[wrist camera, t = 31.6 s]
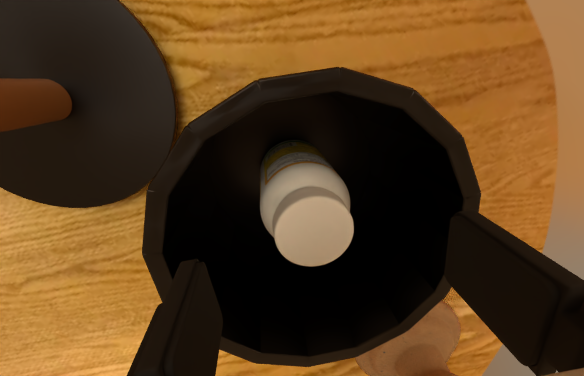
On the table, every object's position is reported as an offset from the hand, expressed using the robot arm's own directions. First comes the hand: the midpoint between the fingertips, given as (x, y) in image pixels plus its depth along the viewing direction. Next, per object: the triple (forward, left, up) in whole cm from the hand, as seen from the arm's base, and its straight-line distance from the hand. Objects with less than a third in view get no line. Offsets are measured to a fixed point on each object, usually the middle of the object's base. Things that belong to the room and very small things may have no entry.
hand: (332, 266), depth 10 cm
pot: (0, 0, -13) cm, 13 cm away
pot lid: (+15, -7, -13) cm, 21 cm away
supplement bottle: (0, 0, -13) cm, 13 cm away
